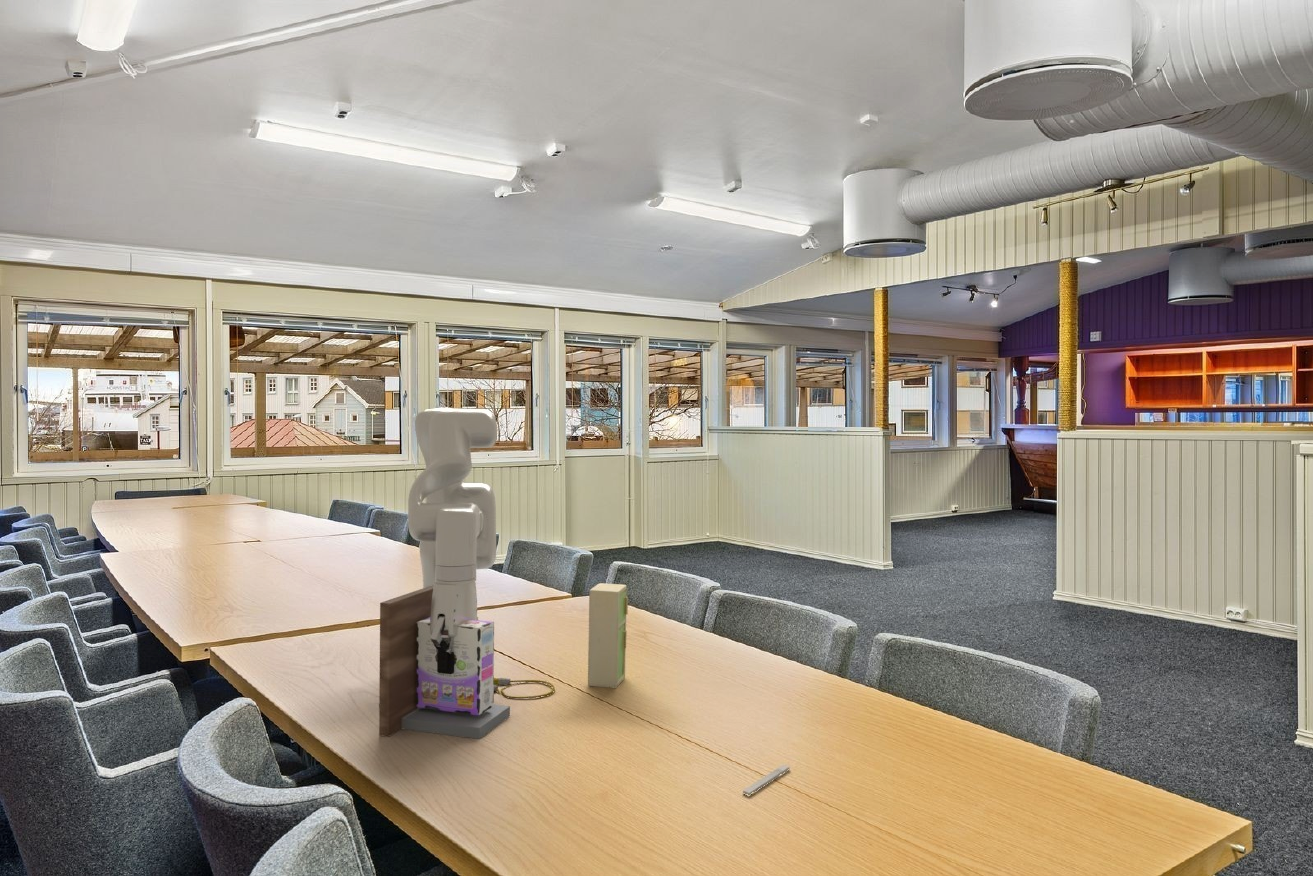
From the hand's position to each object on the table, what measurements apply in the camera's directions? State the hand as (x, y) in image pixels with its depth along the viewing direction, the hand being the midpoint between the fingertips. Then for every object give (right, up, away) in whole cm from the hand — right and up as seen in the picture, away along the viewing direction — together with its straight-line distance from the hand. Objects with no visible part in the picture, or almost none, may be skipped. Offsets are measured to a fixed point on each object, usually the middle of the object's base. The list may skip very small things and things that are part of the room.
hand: (455, 667), depth 153 cm
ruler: (+56, -12, -24) cm, 62 cm away
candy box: (0, -8, 0) cm, 8 cm away
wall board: (-8, -10, +2) cm, 13 cm away
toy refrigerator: (+28, -11, +25) cm, 39 cm away
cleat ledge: (0, -10, 0) cm, 10 cm away
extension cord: (+9, -11, +20) cm, 24 cm away
